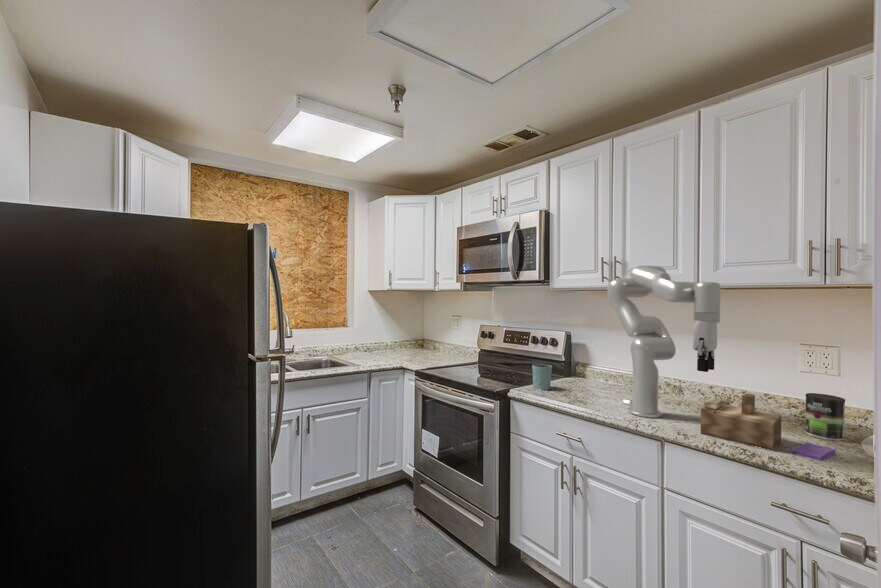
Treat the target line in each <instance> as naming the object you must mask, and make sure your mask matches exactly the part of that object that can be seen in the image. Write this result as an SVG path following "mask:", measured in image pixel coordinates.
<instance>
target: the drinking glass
mask: <svg viewBox="0 0 881 588" xmlns="http://www.w3.org/2000/svg"><path fill="white" fill-rule="evenodd" d="M531 368H532V369H531V370H532V387H534V388H536V389H541V390H540V391H549V389H550V390H551V381H552V371H553V365H550V364H544V363H534V364H532V365H531ZM534 388H533V389H534ZM536 389H535V390H536Z"/></svg>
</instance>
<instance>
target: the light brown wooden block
mask: <svg viewBox="0 0 881 588" xmlns="http://www.w3.org/2000/svg"><path fill="white" fill-rule="evenodd" d="M723 401H724V400H723V399H719V398H714V397H711V398H708V399H707V400H705V401H704V407H707V408H712V409H717V408H719V407H721V406H722V405H723Z"/></svg>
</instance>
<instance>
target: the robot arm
mask: <svg viewBox="0 0 881 588" xmlns="http://www.w3.org/2000/svg"><path fill="white" fill-rule="evenodd" d="M606 292H607V299H608V301H609V303H610V306H611V307H612V308H613V309H614V311H615V312H616V314H617V316H618V319H619V321H620V323H621V325H622V327H623V328H624V331H625V333H626V334H627V336H629V337H630V338H632V339H633V338H635V339H633V340H632V341H631V344H630V353H631V361H632V394H631V395H632V397H631V399H632V400H629V399H625V398H624V399H623V400H622V404H623V405H624V406H629V407H628V408H627V411H628V413H629V414H631V415H634V416H638V417H643V418H649V419H651V418H653V419H654V418H660V417H662V416H663V412H662V411H661V410H659V376H660V375H659V370H658V367H657V365H656V363H655V361H668V360H671V359H673V358H674V357H675V355H676V353H677V351H676V345H675V343H674V339H672V336H671V335H670V333H669V331H668V329H667V327H666V326H665V324H664V323H663V321H662V320H661V319H660V318H658V317H656V316H653V315H652V316H651V315H650V316H649V315H643V314H641V312H640V311H639V309H638V307H637V305H636V304H635V303H634V302H632V301H631V300H630V299H629V298H636V299H637V298H640V299H641V298H645V297H647V296H649V295H650V294H652V293H653V294H654V295H655V296H656V297H658V298H660V299H663V300H664V301H668V302H670V303H686V304H687V303H688V304H689V303H690V304H693V322H695V323H694V330H693V341H692V349H693V350H694V351H697V353H696V354H697V356H696V358H697V361H696V363H697V364H696V366H697V368H696V371H697V372H705V373H708V372H709V370H710V371H714V370H715V350H717V349H718V348H717V347H718V323H721V284H720V283H719V282H715V281H699V282H697V281H696V282H695V281H675V280H672V278H671V275H670V274H669V273H668V272H667V271H666V269H665V268H664V267H662V266H658V265H636V266H635V267H633V268H632V269H631V270H630V272H629V278H627V277H626V278H623V277H621V278H616V279H612V280H611V281H609V283H608V285H607V290H606Z"/></svg>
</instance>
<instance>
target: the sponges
mask: <svg viewBox="0 0 881 588" xmlns="http://www.w3.org/2000/svg"><path fill="white" fill-rule="evenodd" d="M790 452H791V453H792V454H795V455H799V456H801V455H802V457H806V458H809V459H813V460H817V461H822V460H824V459H826V458H828V457H830V456H833V455H835V454H836V448H833V447H827V446H823V445H820V444H814V443H812V442H808V441H807V442H805V443H803V444H800V445H798V446H795V447H792V448H791V450H790Z"/></svg>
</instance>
